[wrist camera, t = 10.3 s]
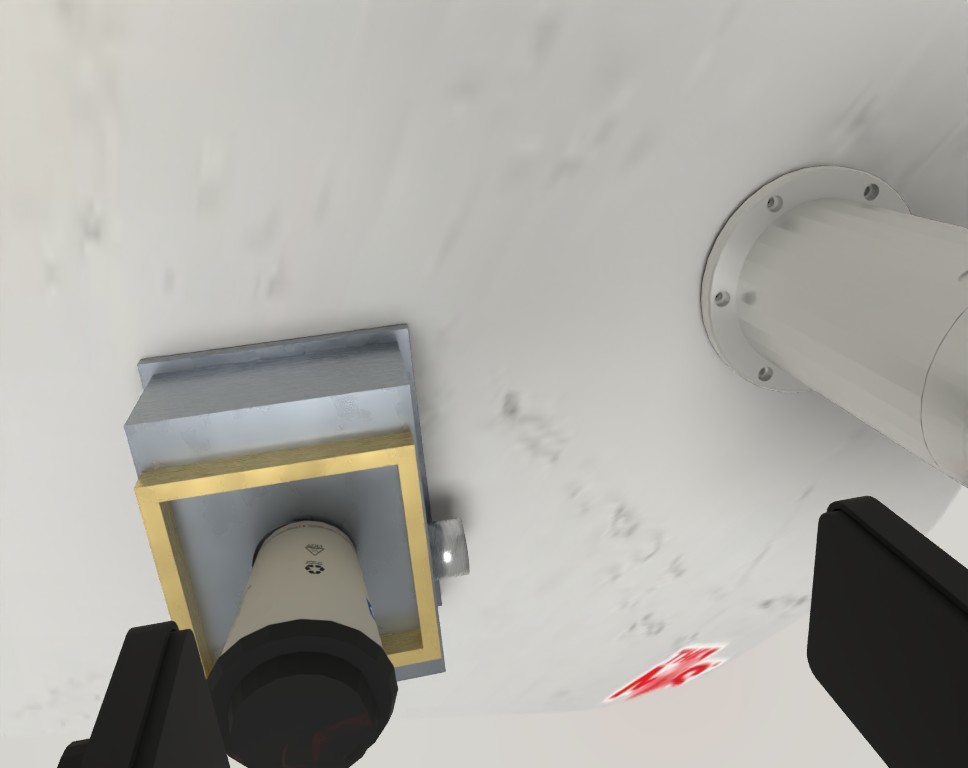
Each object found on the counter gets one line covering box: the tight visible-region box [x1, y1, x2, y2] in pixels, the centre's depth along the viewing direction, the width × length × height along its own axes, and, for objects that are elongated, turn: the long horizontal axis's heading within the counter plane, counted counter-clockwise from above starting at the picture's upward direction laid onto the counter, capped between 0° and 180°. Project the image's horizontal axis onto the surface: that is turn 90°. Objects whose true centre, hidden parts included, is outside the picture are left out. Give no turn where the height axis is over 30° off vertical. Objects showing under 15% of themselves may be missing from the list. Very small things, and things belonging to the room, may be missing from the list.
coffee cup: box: [206, 521, 398, 768], centre depth 32 cm, size 7×7×10 cm
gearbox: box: [124, 324, 469, 681], centre depth 40 cm, size 17×15×8 cm
